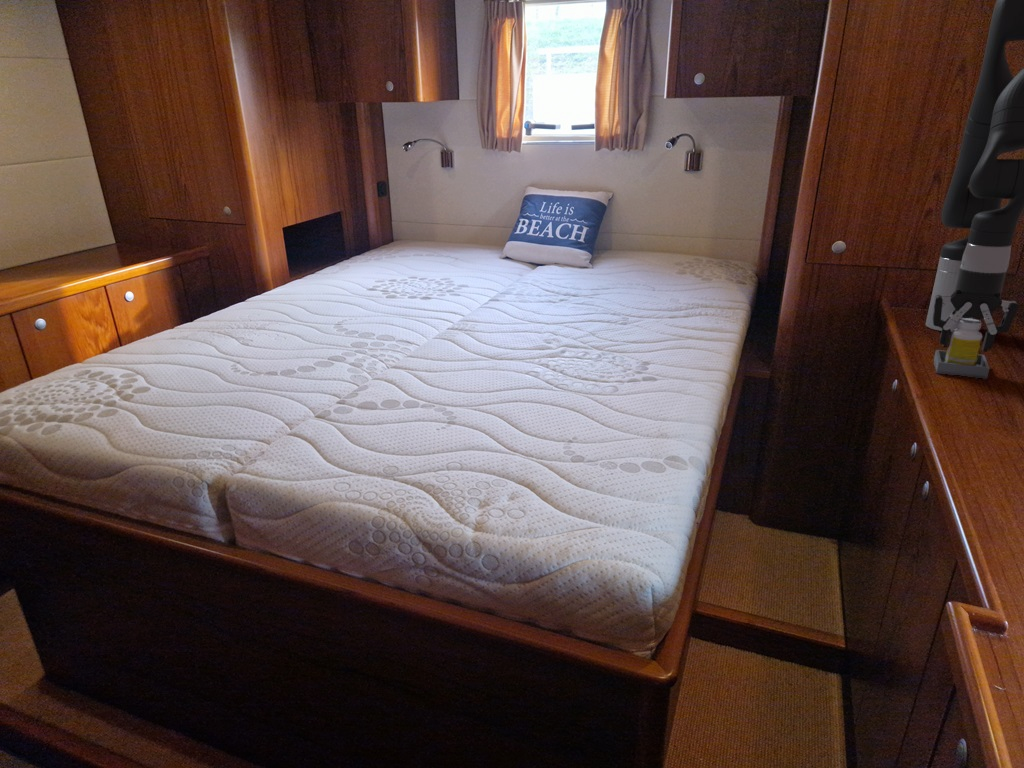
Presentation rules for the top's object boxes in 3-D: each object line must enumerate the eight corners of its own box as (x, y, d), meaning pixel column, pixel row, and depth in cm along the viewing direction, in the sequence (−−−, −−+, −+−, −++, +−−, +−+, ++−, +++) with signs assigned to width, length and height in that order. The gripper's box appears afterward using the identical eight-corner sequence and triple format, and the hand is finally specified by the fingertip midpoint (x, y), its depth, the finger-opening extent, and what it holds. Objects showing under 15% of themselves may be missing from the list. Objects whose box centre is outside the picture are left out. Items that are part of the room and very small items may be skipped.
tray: (933, 360, 142) (935, 349, 141) (981, 365, 138) (984, 354, 137) (936, 373, 135) (938, 362, 134) (986, 379, 131) (989, 368, 130)
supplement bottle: (979, 371, 133) (991, 325, 129) (950, 370, 134) (960, 324, 131) (968, 362, 138) (978, 317, 134) (939, 361, 139) (949, 316, 135)
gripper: (1025, 266, 128) (1004, 347, 135) (938, 261, 135) (922, 339, 141) (1032, 273, 122) (1009, 359, 128) (941, 268, 128) (924, 349, 135)
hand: (964, 348), depth 135 cm, fingers open, 6 cm apart
